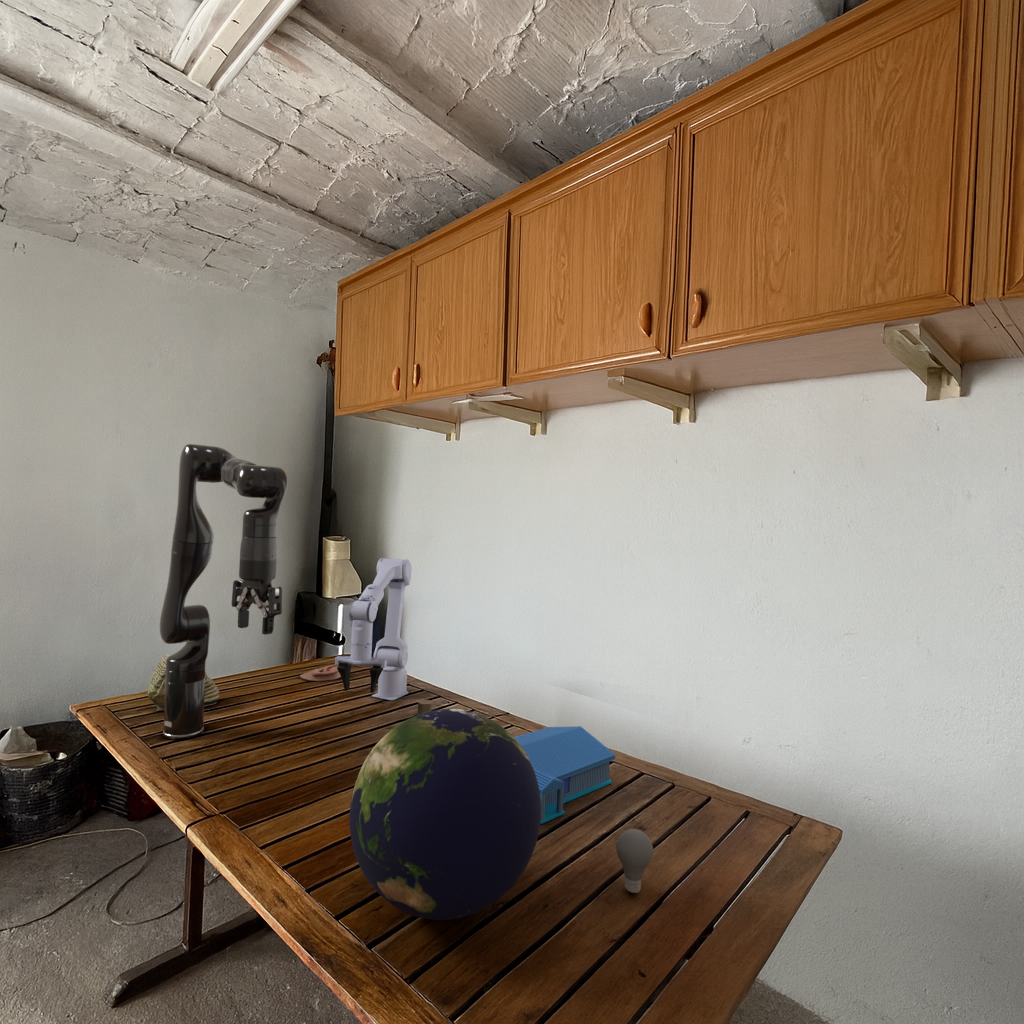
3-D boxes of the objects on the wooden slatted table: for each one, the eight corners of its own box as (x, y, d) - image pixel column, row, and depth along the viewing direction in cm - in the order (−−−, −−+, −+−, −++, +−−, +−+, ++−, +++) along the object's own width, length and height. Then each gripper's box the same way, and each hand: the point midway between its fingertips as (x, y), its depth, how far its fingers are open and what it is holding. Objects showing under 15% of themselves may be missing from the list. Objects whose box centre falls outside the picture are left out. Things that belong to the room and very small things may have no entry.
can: (420, 718, 184) (421, 704, 184) (415, 713, 187) (416, 700, 187) (432, 716, 186) (433, 702, 186) (427, 712, 189) (428, 698, 189)
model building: (493, 845, 118) (495, 791, 117) (419, 795, 136) (421, 749, 136) (624, 787, 144) (626, 744, 144) (547, 752, 162) (548, 713, 162)
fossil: (144, 707, 182) (145, 655, 182) (212, 696, 194) (213, 647, 194) (151, 716, 175) (153, 662, 175) (221, 703, 188) (223, 653, 188)
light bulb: (610, 879, 108) (613, 822, 108) (644, 879, 109) (647, 822, 109) (619, 902, 102) (622, 840, 102) (655, 901, 103) (658, 840, 103)
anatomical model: (295, 667, 216) (312, 659, 227) (295, 679, 216) (312, 670, 227) (331, 671, 213) (346, 663, 224) (330, 683, 213) (346, 674, 224)
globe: (303, 931, 92) (311, 727, 92) (410, 834, 120) (417, 677, 120) (490, 1000, 81) (500, 768, 81) (561, 876, 109) (569, 702, 108)
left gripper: (294, 559, 138) (290, 633, 138) (253, 553, 145) (250, 623, 146) (264, 561, 131) (260, 639, 132) (223, 554, 139) (219, 627, 139)
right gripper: (331, 644, 176) (329, 692, 177) (381, 648, 175) (379, 697, 175) (341, 639, 183) (339, 685, 184) (389, 642, 182) (387, 689, 182)
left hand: (255, 630), depth 139 cm, fingers open, 8 cm apart
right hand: (359, 690), depth 180 cm, fingers open, 7 cm apart
